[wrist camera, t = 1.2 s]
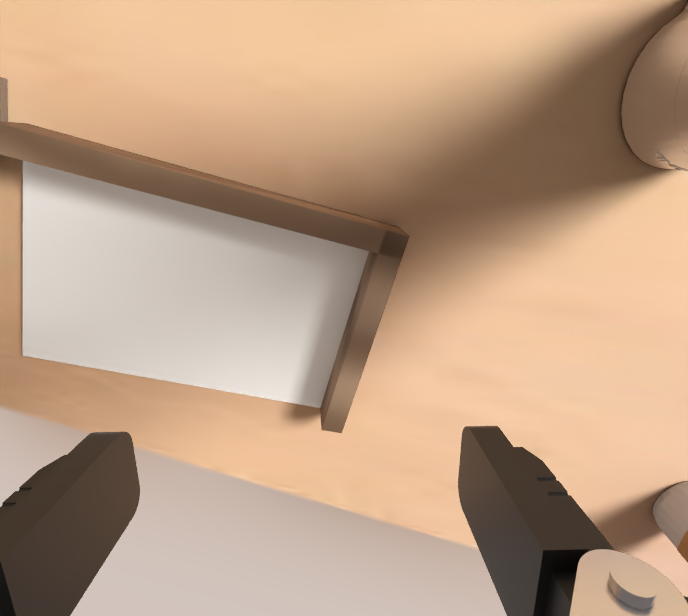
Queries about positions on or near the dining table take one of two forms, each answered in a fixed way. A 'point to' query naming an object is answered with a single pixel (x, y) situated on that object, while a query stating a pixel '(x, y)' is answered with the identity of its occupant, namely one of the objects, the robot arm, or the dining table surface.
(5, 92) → the bracket
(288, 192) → the dining table surface
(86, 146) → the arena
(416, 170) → the dining table surface
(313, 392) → the mat
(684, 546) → the coffee cup
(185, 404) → the dining table surface
